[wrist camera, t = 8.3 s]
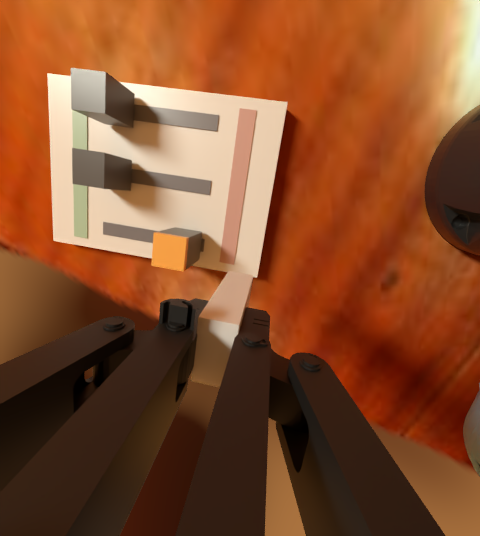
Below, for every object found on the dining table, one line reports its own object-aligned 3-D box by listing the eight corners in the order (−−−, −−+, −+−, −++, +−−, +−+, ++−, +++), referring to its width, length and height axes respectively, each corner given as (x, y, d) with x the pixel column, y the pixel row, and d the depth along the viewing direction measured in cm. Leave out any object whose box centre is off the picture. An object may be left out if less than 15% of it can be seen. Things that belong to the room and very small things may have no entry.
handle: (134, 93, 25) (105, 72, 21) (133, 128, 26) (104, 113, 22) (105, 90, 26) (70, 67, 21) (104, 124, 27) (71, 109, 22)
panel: (286, 109, 26) (287, 101, 24) (258, 272, 31) (256, 277, 29) (63, 82, 28) (46, 72, 26) (66, 238, 33) (52, 240, 31)
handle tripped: (202, 231, 28) (186, 238, 23) (199, 259, 29) (183, 271, 24) (174, 227, 28) (153, 232, 23) (172, 254, 29) (151, 265, 24)
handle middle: (132, 160, 27) (104, 152, 23) (130, 190, 28) (103, 188, 23) (104, 156, 27) (72, 147, 23) (103, 186, 28) (72, 183, 24)
